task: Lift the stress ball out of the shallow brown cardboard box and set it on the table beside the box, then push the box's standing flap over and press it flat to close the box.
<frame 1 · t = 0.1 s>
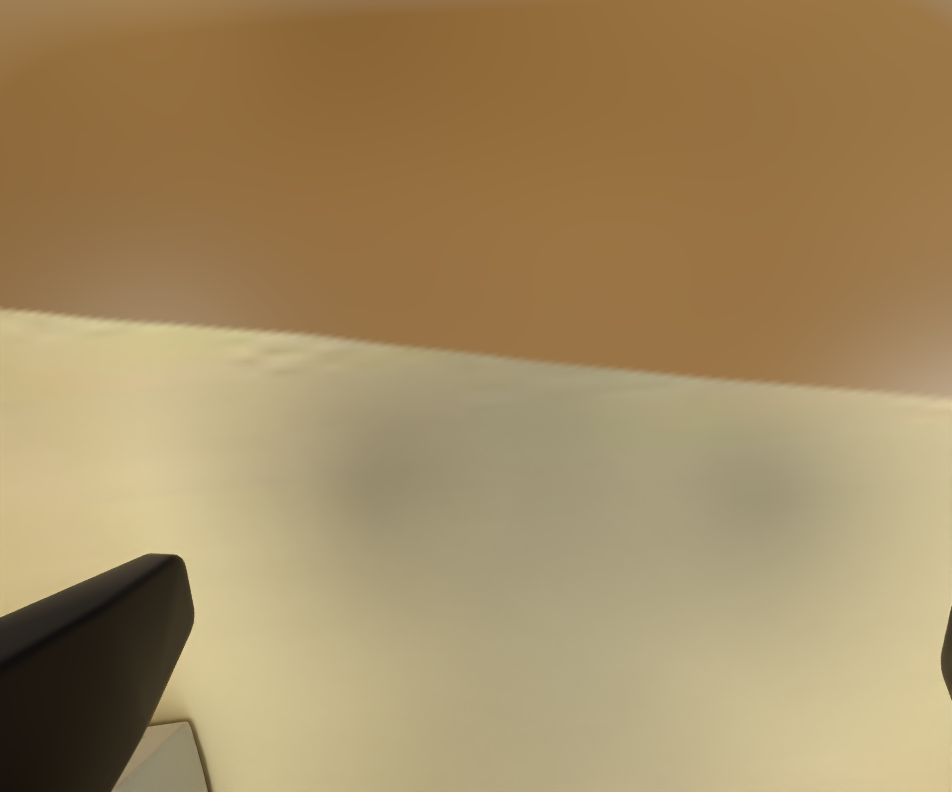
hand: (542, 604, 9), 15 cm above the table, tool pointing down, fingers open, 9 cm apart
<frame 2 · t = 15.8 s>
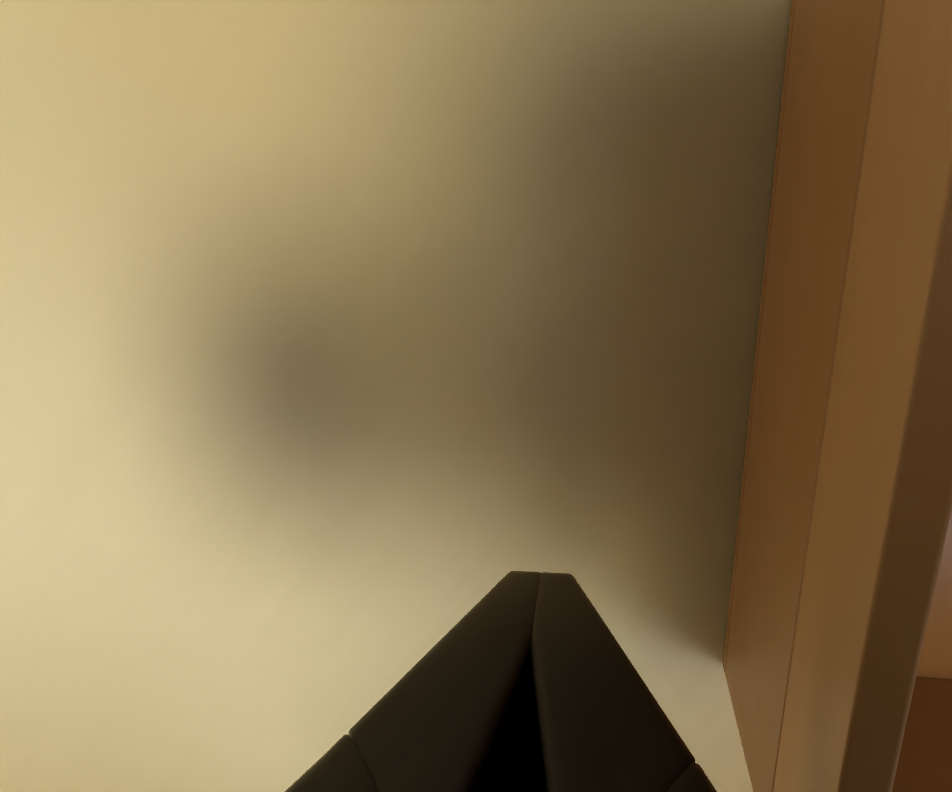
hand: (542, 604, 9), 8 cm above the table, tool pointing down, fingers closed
flap: (828, 648, 8), point 9 cm above the table, hinge at 104.7°, touching gripper
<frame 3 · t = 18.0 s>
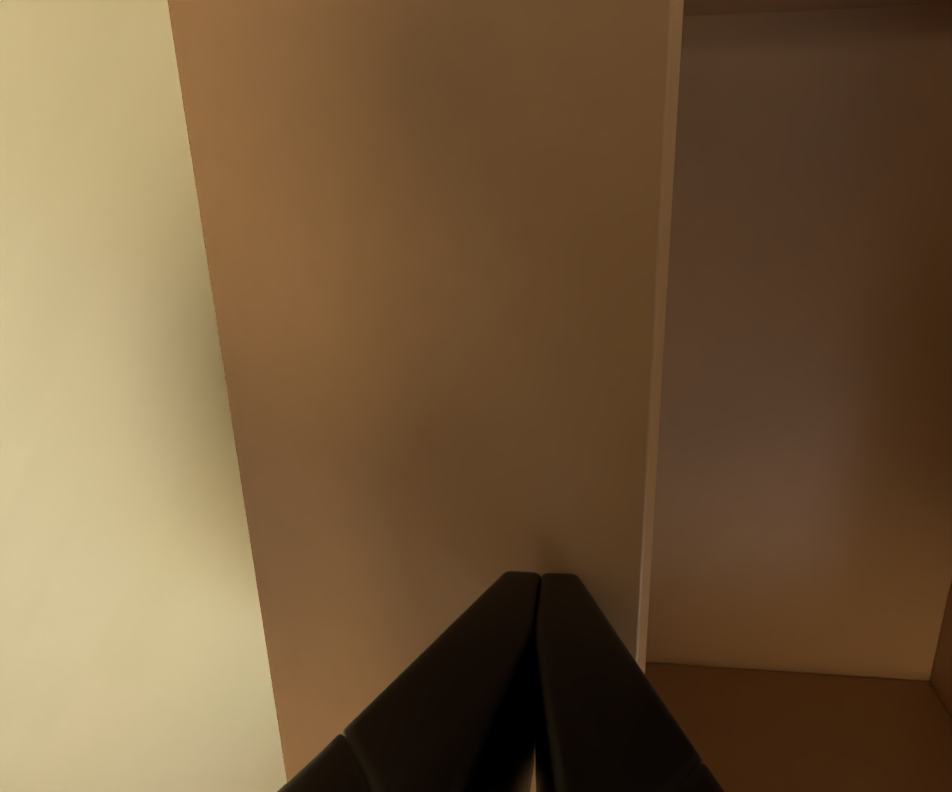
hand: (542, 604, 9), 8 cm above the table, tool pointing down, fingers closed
carton: (653, 383, 16), on the table
flap: (413, 546, 10), point 7 cm above the table, hinge at 26.0°, touching gripper
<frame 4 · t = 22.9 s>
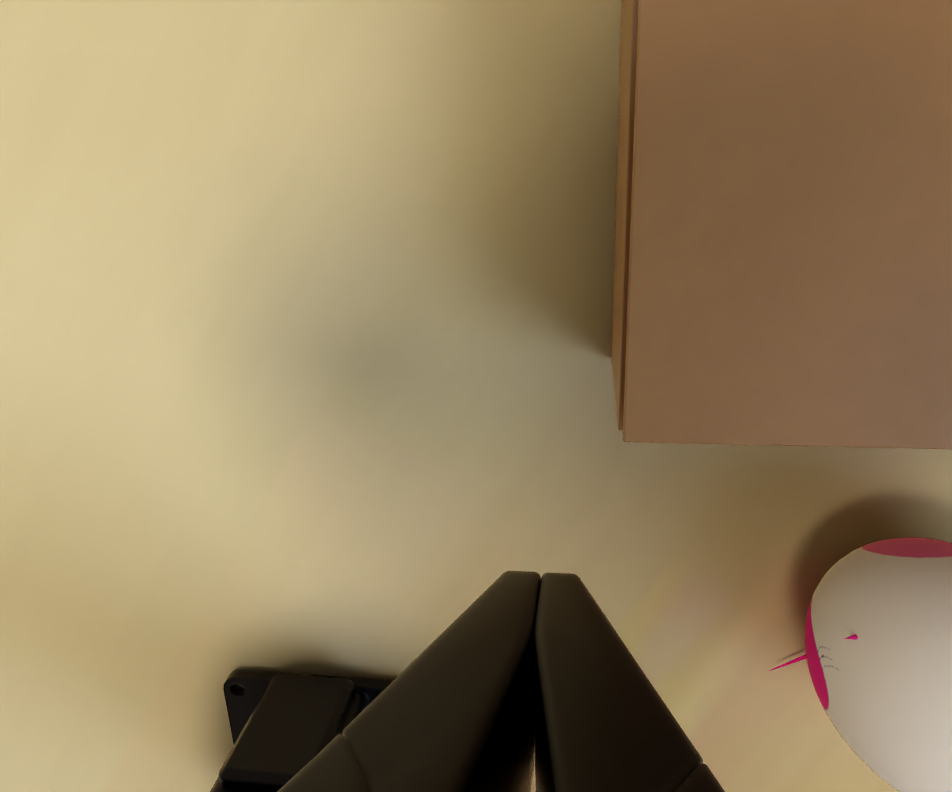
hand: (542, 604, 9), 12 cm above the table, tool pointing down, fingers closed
carton: (934, 46, 17), on the table
flap: (848, 31, 12), point 5 cm above the table, hinge at -0.3°
stress ball: (877, 611, 22), on the table
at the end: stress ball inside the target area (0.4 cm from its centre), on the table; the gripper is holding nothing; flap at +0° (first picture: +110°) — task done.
